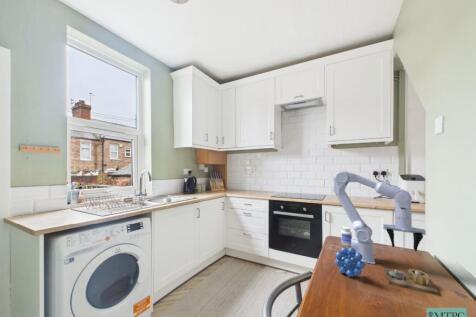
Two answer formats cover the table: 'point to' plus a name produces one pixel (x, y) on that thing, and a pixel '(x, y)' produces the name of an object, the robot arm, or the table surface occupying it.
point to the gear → (418, 277)
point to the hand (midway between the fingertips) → (403, 248)
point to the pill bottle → (346, 236)
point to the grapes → (349, 261)
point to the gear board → (408, 281)
